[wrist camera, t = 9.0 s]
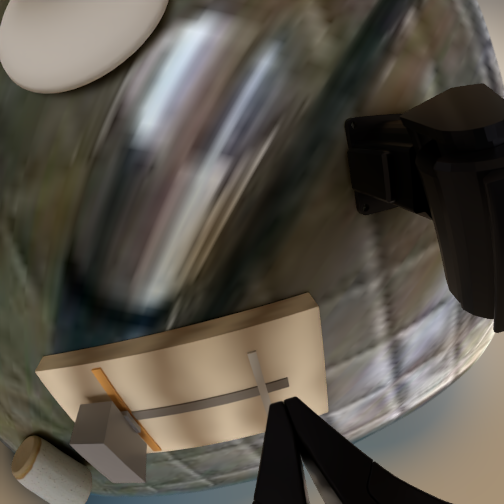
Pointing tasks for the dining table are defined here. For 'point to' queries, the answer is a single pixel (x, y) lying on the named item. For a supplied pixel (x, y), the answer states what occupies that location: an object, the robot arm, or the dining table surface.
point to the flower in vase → (72, 39)
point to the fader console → (201, 375)
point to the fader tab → (110, 442)
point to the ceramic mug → (51, 472)
